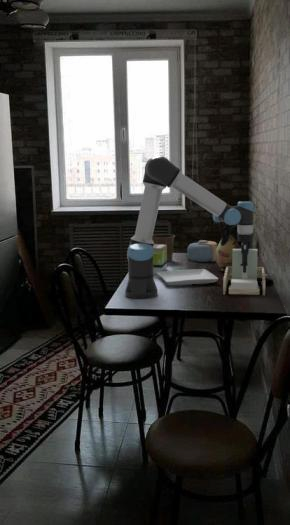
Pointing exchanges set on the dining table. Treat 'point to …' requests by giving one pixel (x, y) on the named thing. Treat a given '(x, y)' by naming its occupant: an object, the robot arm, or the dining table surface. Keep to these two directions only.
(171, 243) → the plant pot
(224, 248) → the ceramic jug
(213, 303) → the dining table surface
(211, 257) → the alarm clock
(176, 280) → the square plate
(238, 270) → the tall panel
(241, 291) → the lower offcut
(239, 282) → the upper offcut
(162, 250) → the tea box
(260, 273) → the frame
